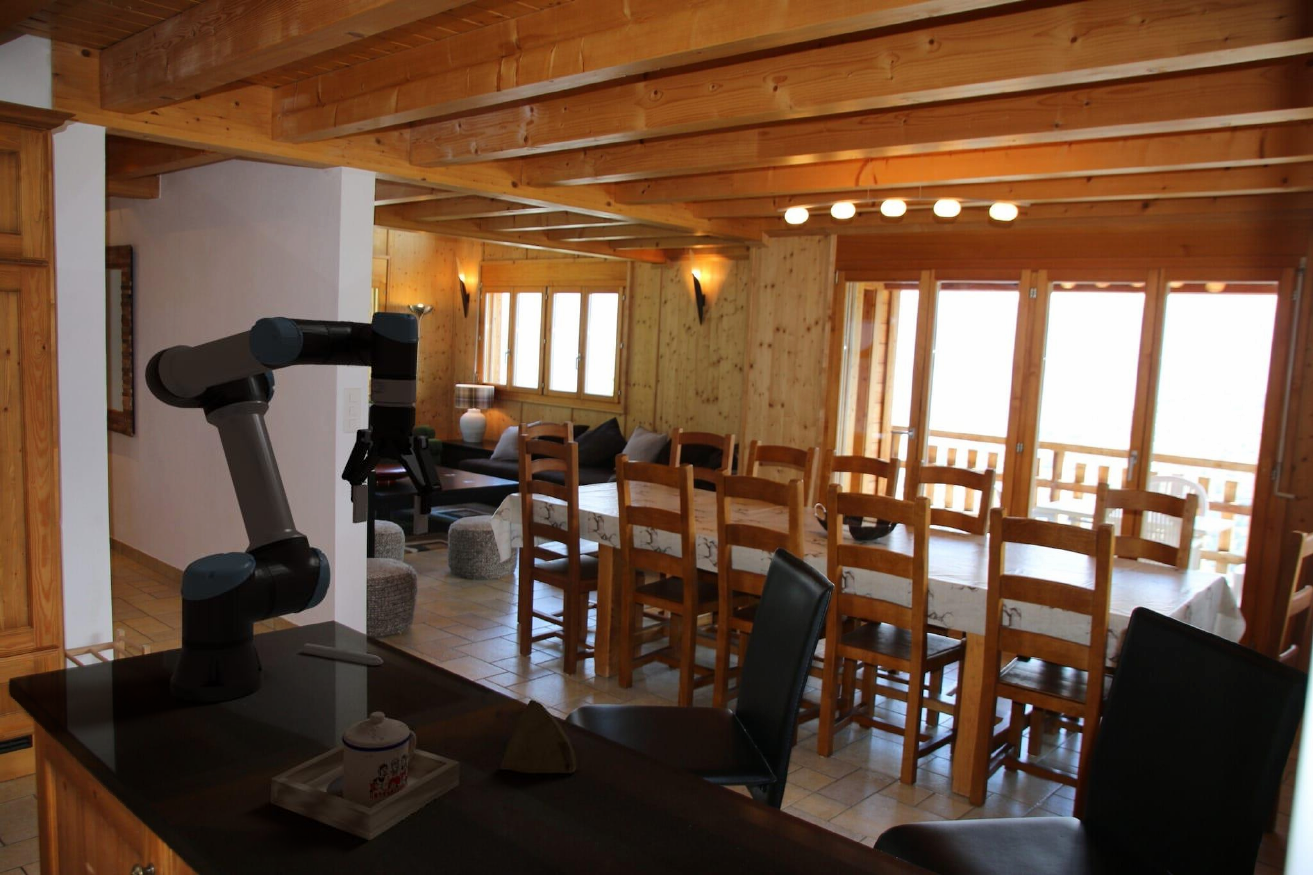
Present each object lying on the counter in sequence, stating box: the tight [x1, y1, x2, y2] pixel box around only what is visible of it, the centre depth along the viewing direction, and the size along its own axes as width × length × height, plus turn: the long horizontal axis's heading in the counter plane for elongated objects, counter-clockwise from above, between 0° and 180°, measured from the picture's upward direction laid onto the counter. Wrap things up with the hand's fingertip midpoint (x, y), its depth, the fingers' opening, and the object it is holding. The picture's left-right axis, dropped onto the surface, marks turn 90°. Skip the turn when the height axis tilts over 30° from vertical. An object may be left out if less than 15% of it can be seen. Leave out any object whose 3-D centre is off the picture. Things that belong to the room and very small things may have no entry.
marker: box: [302, 643, 384, 666], centre depth 186 cm, size 18×2×2 cm, turn 73°
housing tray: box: [270, 743, 460, 841], centre depth 133 cm, size 18×18×4 cm
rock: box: [500, 699, 578, 774], centre depth 143 cm, size 11×9×10 cm
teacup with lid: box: [341, 711, 417, 808], centre depth 131 cm, size 12×9×12 cm
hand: (389, 527), depth 161 cm, fingers open, 13 cm apart
